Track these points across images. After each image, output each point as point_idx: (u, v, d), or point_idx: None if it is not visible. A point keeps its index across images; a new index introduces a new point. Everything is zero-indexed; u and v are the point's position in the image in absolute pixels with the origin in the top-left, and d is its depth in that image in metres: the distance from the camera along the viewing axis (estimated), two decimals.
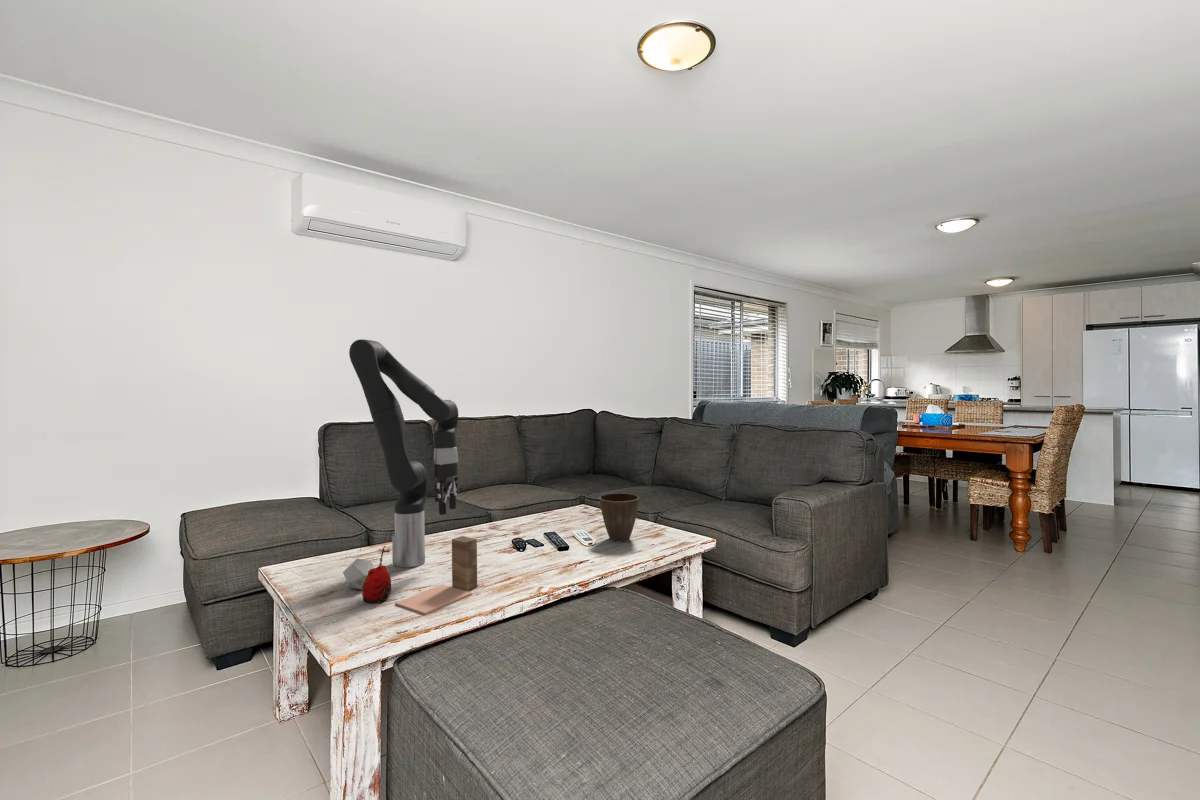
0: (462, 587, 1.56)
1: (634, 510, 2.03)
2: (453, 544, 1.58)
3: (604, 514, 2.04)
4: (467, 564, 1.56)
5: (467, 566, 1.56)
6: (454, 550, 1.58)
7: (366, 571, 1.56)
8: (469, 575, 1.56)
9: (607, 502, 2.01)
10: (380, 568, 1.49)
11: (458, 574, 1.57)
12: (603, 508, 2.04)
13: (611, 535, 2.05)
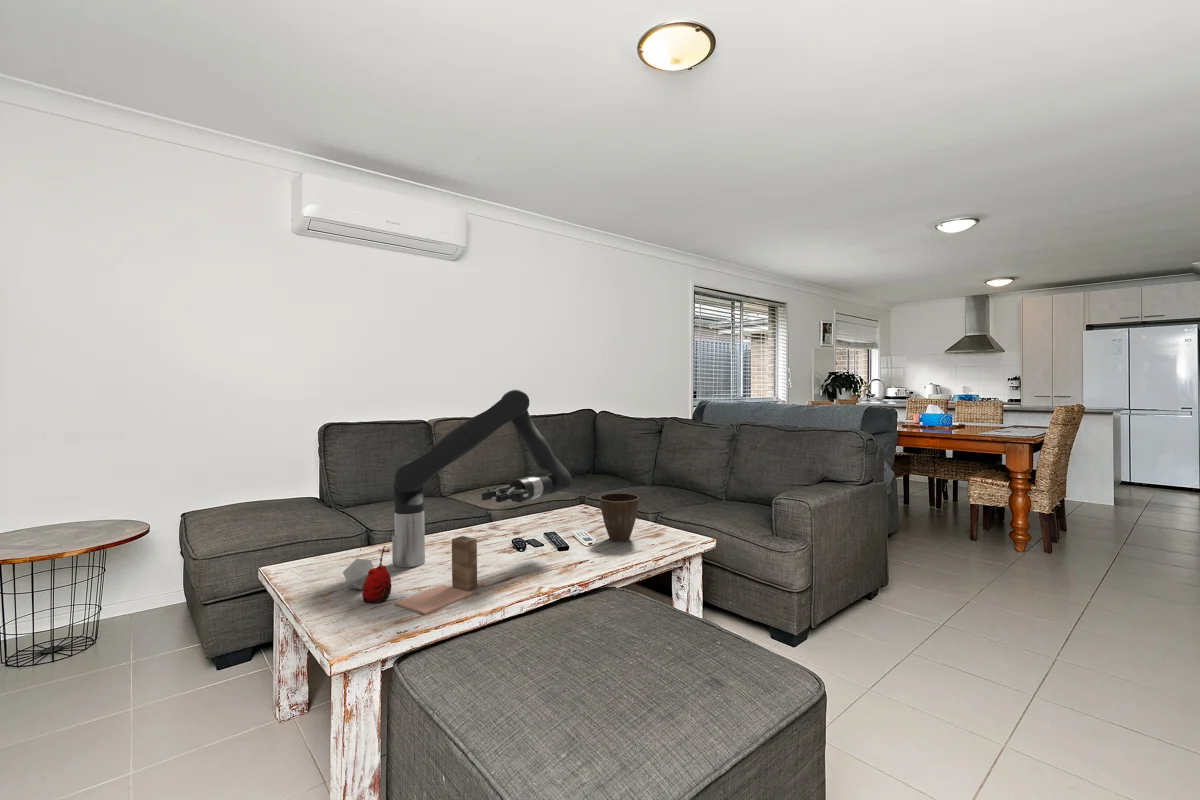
0: (462, 587, 1.56)
1: (634, 510, 2.03)
2: (453, 544, 1.58)
3: (604, 514, 2.04)
4: (467, 564, 1.56)
5: (467, 566, 1.56)
6: (454, 550, 1.58)
7: (366, 571, 1.56)
8: (469, 575, 1.56)
9: (607, 502, 2.01)
10: (380, 568, 1.49)
11: (458, 574, 1.57)
12: (603, 508, 2.04)
13: (611, 535, 2.05)
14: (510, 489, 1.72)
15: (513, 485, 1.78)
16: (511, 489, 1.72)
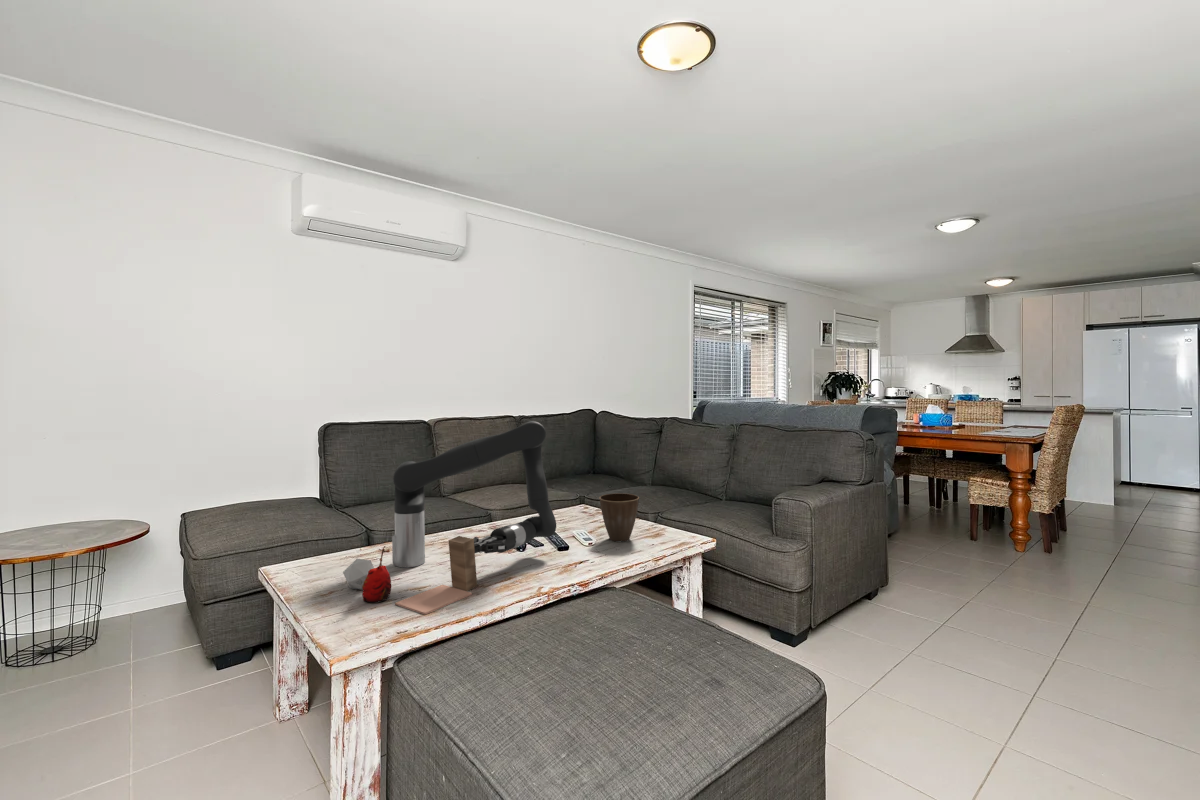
0: (462, 587, 1.56)
1: (634, 510, 2.03)
2: (450, 545, 1.57)
3: (604, 514, 2.04)
4: (465, 565, 1.55)
5: (465, 567, 1.55)
6: (451, 551, 1.57)
7: (366, 571, 1.56)
8: (468, 575, 1.56)
9: (607, 502, 2.01)
10: (380, 568, 1.49)
11: (457, 574, 1.57)
12: (603, 508, 2.04)
13: (611, 535, 2.05)
14: (487, 540, 1.65)
15: (494, 534, 1.71)
16: (488, 540, 1.65)
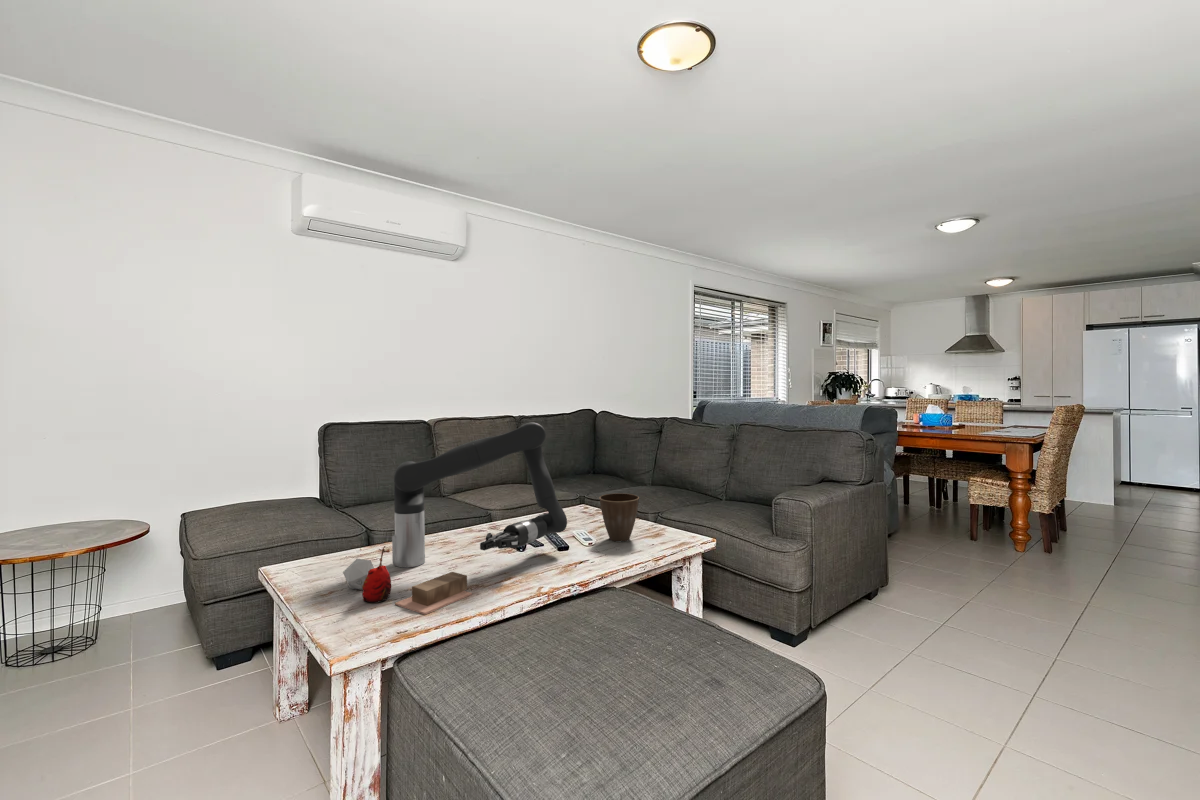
0: None
1: (634, 510, 2.03)
2: None
3: (604, 514, 2.04)
4: (446, 597, 1.49)
5: (447, 596, 1.50)
6: None
7: (366, 571, 1.56)
8: (455, 590, 1.52)
9: (607, 502, 2.01)
10: (380, 568, 1.49)
11: None
12: (603, 508, 2.04)
13: (611, 535, 2.05)
14: (500, 536, 1.70)
15: (507, 530, 1.76)
16: (501, 536, 1.70)
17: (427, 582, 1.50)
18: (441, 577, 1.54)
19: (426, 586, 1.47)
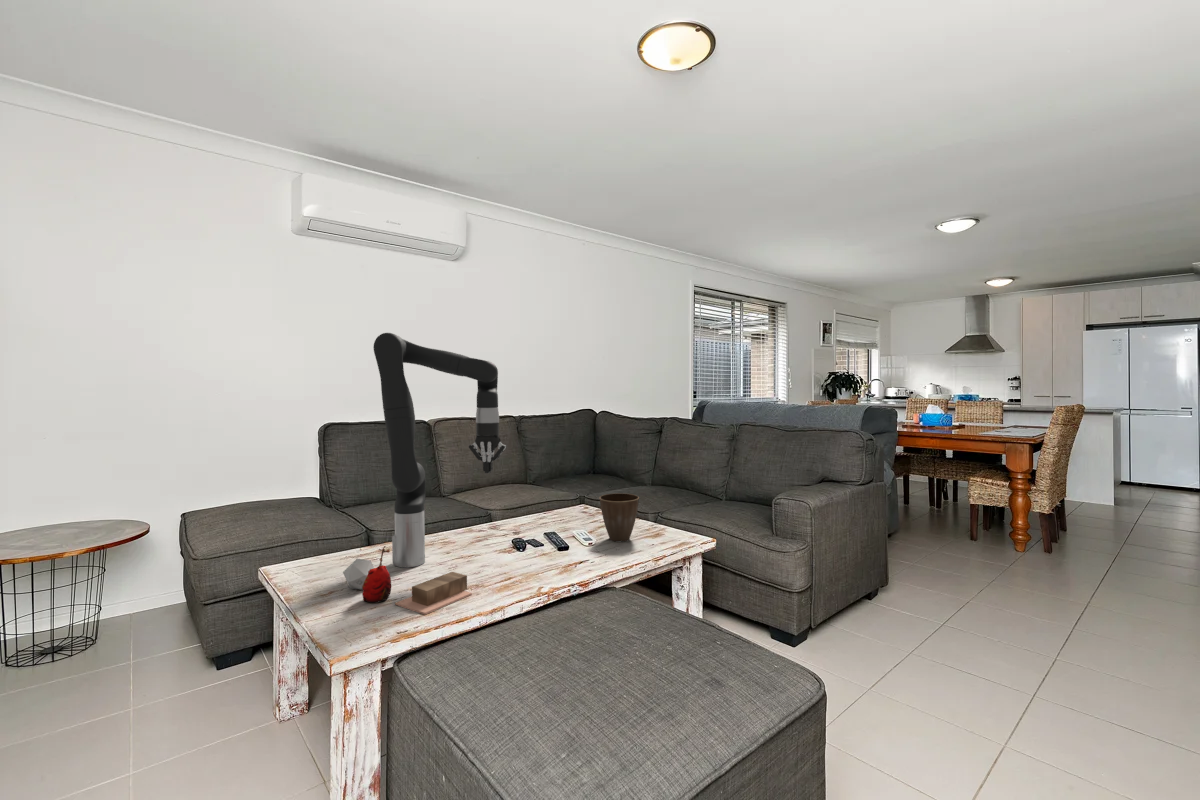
0: None
1: (634, 510, 2.03)
2: None
3: (604, 514, 2.04)
4: (446, 597, 1.49)
5: (447, 596, 1.50)
6: None
7: (366, 571, 1.56)
8: (455, 590, 1.52)
9: (607, 502, 2.01)
10: (380, 568, 1.49)
11: None
12: (603, 508, 2.04)
13: (611, 535, 2.05)
14: (488, 452, 1.82)
15: (481, 435, 1.82)
16: (489, 451, 1.82)
17: (427, 582, 1.50)
18: (441, 577, 1.54)
19: (426, 586, 1.47)
